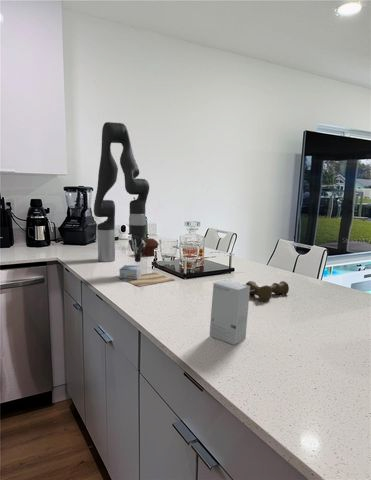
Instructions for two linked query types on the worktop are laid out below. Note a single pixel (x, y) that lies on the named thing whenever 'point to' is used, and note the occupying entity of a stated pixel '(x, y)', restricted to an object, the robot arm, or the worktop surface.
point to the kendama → (267, 290)
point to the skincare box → (229, 311)
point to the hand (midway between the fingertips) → (137, 261)
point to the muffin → (150, 247)
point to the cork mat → (149, 279)
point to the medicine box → (130, 272)
